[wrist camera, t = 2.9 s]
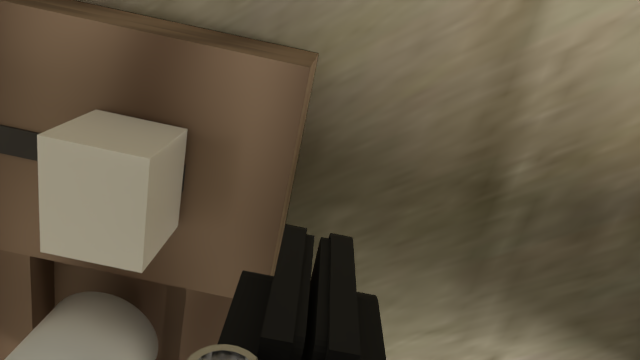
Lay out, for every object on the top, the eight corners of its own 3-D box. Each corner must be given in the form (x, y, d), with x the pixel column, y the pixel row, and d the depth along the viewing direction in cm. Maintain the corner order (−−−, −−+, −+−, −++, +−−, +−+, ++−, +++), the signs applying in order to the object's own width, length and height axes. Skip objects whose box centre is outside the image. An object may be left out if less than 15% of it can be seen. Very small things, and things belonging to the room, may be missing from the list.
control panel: (318, 53, 18) (309, 67, 14) (257, 366, 24) (239, 437, 20) (-248, -71, 17) (-415, -90, 14) (-168, 279, 23) (-269, 333, 20)
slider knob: (187, 129, 15) (150, 158, 12) (177, 226, 16) (142, 273, 13) (96, 109, 15) (37, 134, 12) (93, 208, 16) (40, 252, 13)
